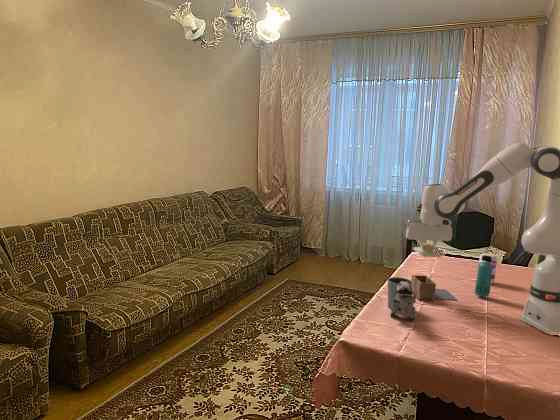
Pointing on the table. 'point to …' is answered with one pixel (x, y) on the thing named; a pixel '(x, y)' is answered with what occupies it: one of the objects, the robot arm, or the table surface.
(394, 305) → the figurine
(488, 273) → the beverage bottle
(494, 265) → the supplement can
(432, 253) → the lid
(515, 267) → the table surface
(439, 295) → the mat
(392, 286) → the gray embossed pot
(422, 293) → the box
